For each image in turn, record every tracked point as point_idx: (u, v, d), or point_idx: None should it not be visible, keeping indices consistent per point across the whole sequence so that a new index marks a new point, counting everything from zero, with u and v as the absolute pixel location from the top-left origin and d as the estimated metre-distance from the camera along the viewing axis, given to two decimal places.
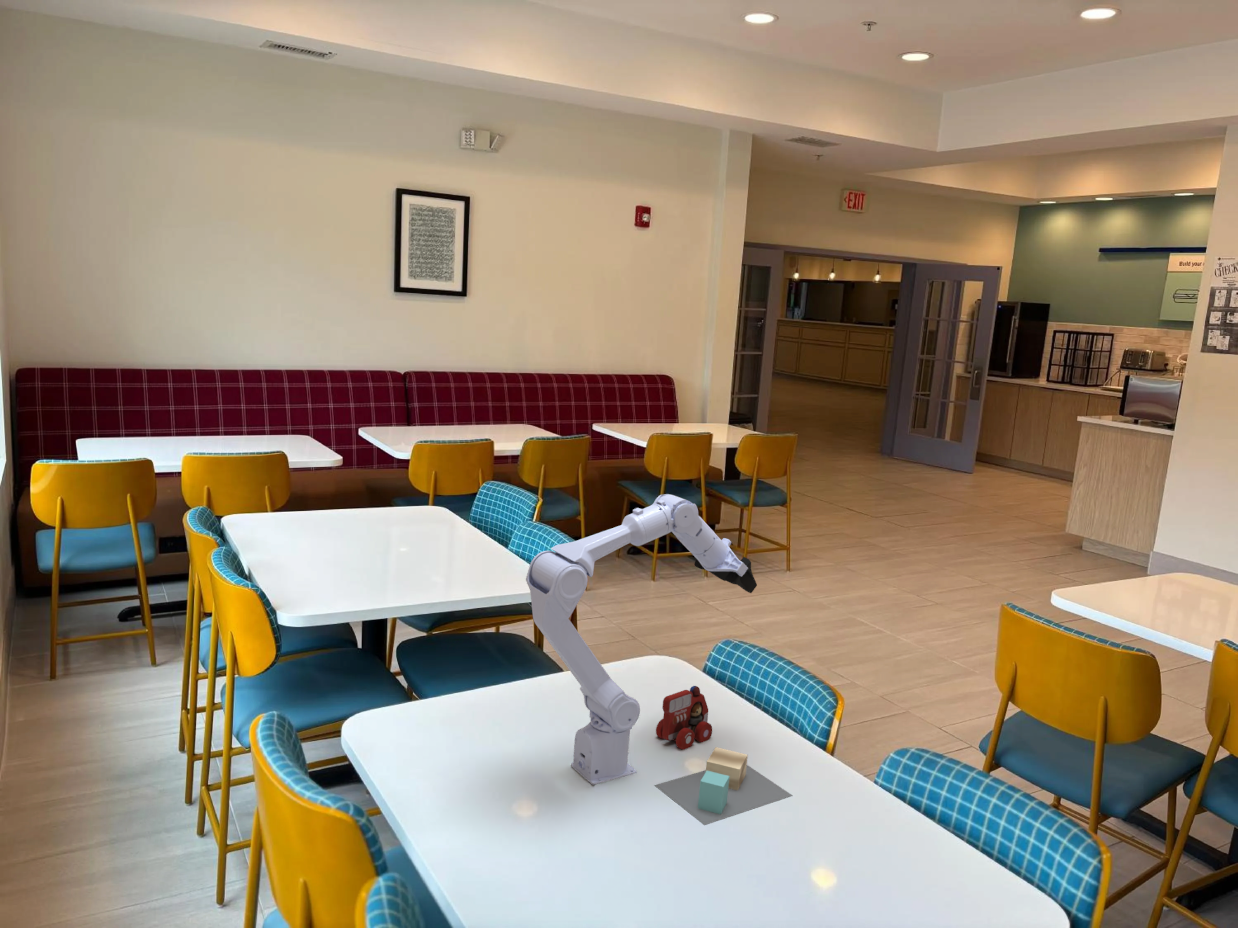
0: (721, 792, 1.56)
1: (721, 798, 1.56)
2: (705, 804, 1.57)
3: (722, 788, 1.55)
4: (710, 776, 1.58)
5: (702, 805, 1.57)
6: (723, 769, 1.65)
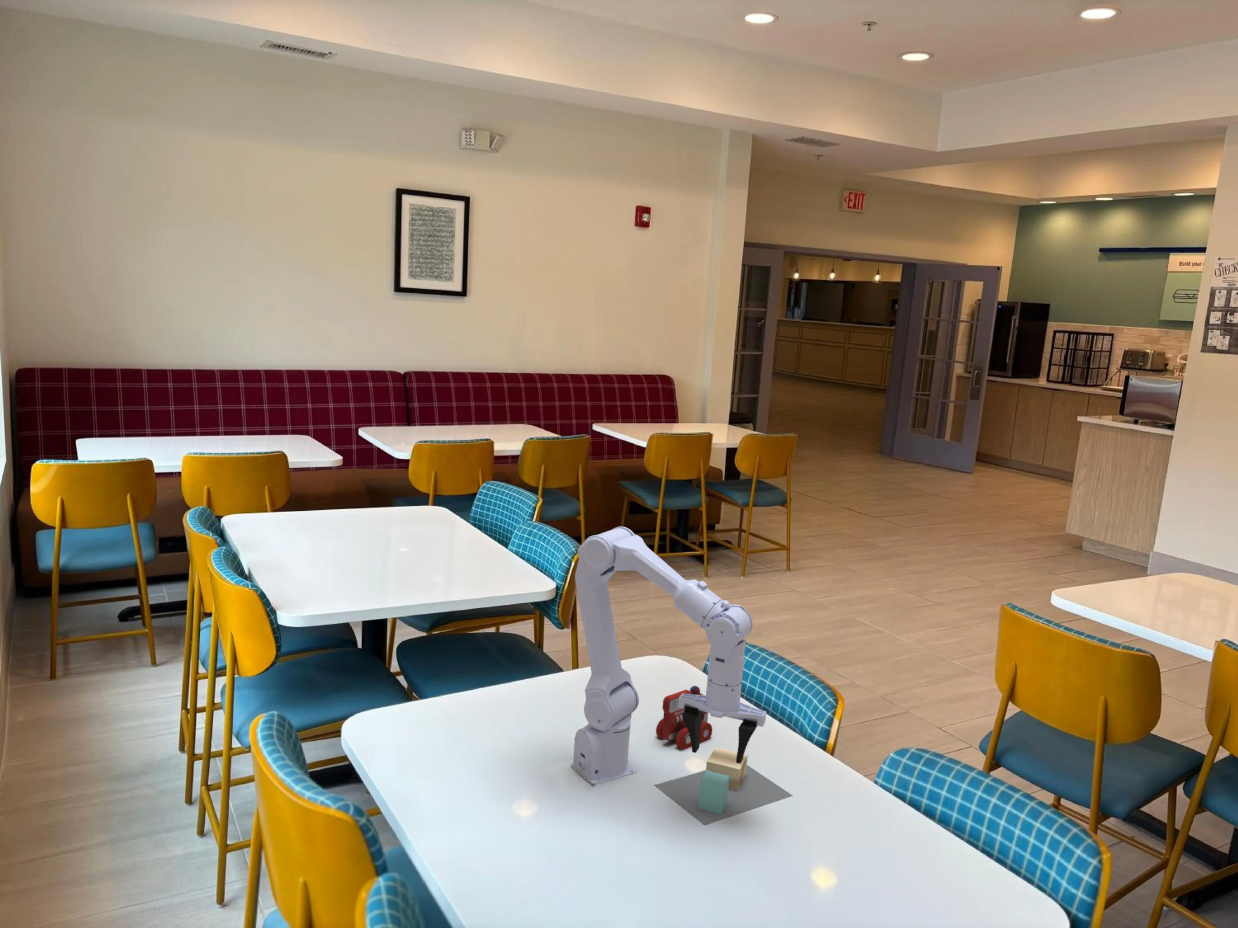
0: (721, 792, 1.56)
1: (721, 798, 1.56)
2: (705, 804, 1.57)
3: (722, 788, 1.55)
4: (710, 776, 1.58)
5: (702, 805, 1.57)
6: (723, 769, 1.65)
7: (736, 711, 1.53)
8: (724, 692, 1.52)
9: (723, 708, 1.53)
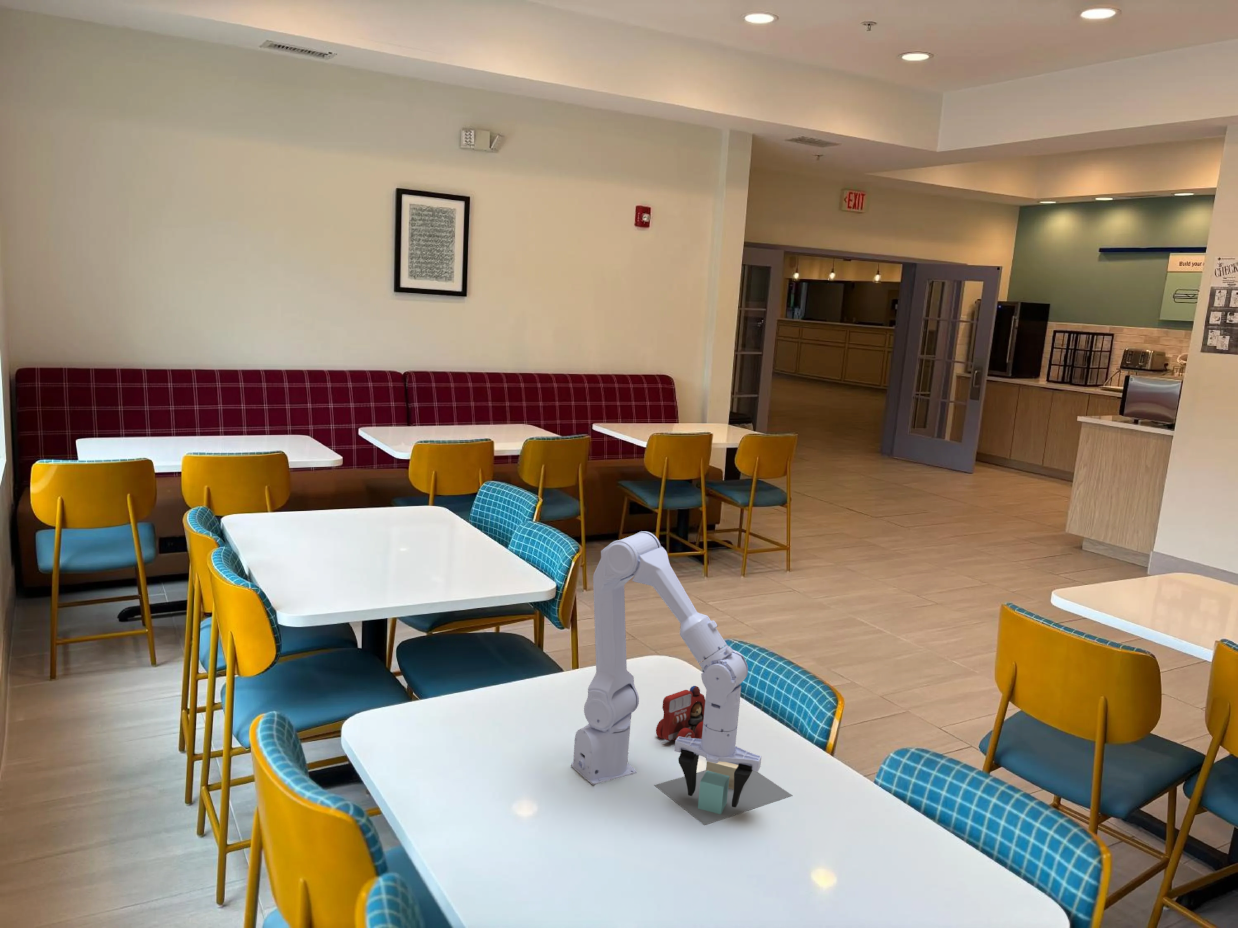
0: (721, 792, 1.56)
1: (721, 798, 1.56)
2: (705, 804, 1.57)
3: (722, 788, 1.55)
4: (710, 776, 1.58)
5: (702, 805, 1.57)
6: (723, 769, 1.65)
7: (731, 756, 1.55)
8: (720, 737, 1.54)
9: (719, 753, 1.54)
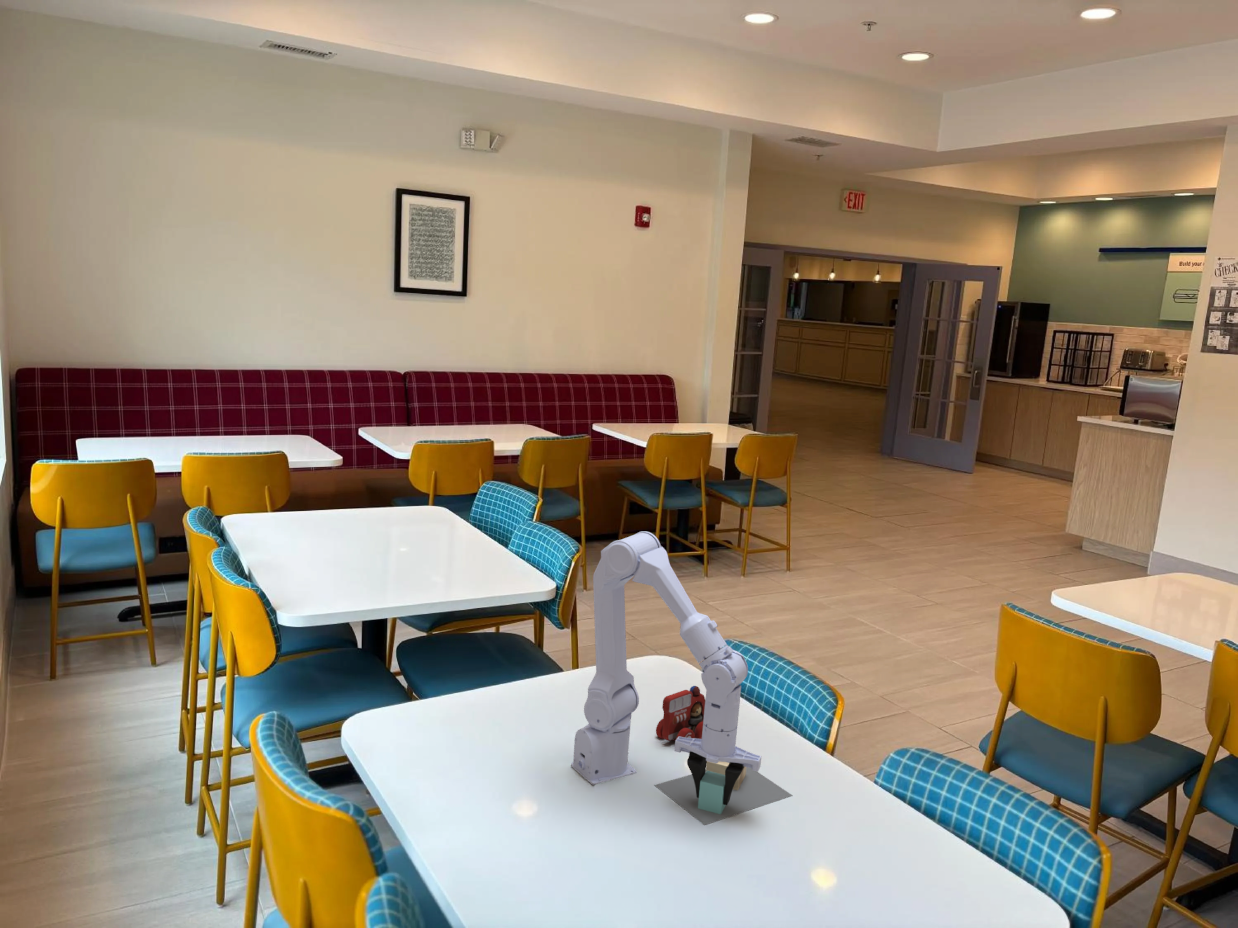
0: (721, 792, 1.56)
1: (721, 798, 1.56)
2: (705, 804, 1.57)
3: (722, 788, 1.55)
4: (710, 776, 1.58)
5: (702, 805, 1.57)
6: (723, 769, 1.65)
7: (731, 756, 1.55)
8: (720, 737, 1.54)
9: (719, 753, 1.54)
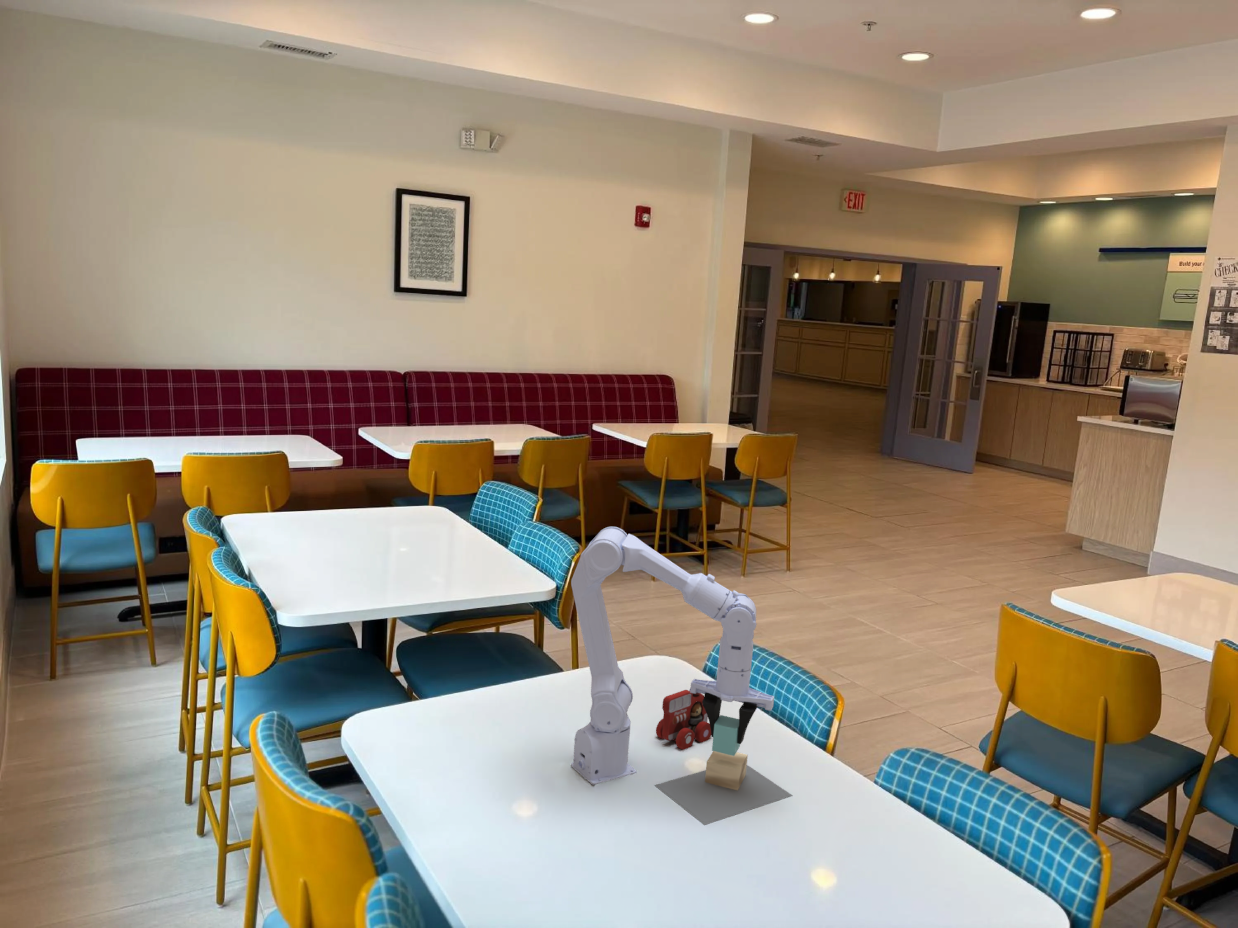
0: (734, 734, 1.61)
1: (734, 740, 1.61)
2: (719, 746, 1.63)
3: (735, 730, 1.61)
4: (723, 720, 1.64)
5: (716, 747, 1.63)
6: (723, 769, 1.65)
7: (745, 696, 1.61)
8: (734, 677, 1.59)
9: (733, 692, 1.60)
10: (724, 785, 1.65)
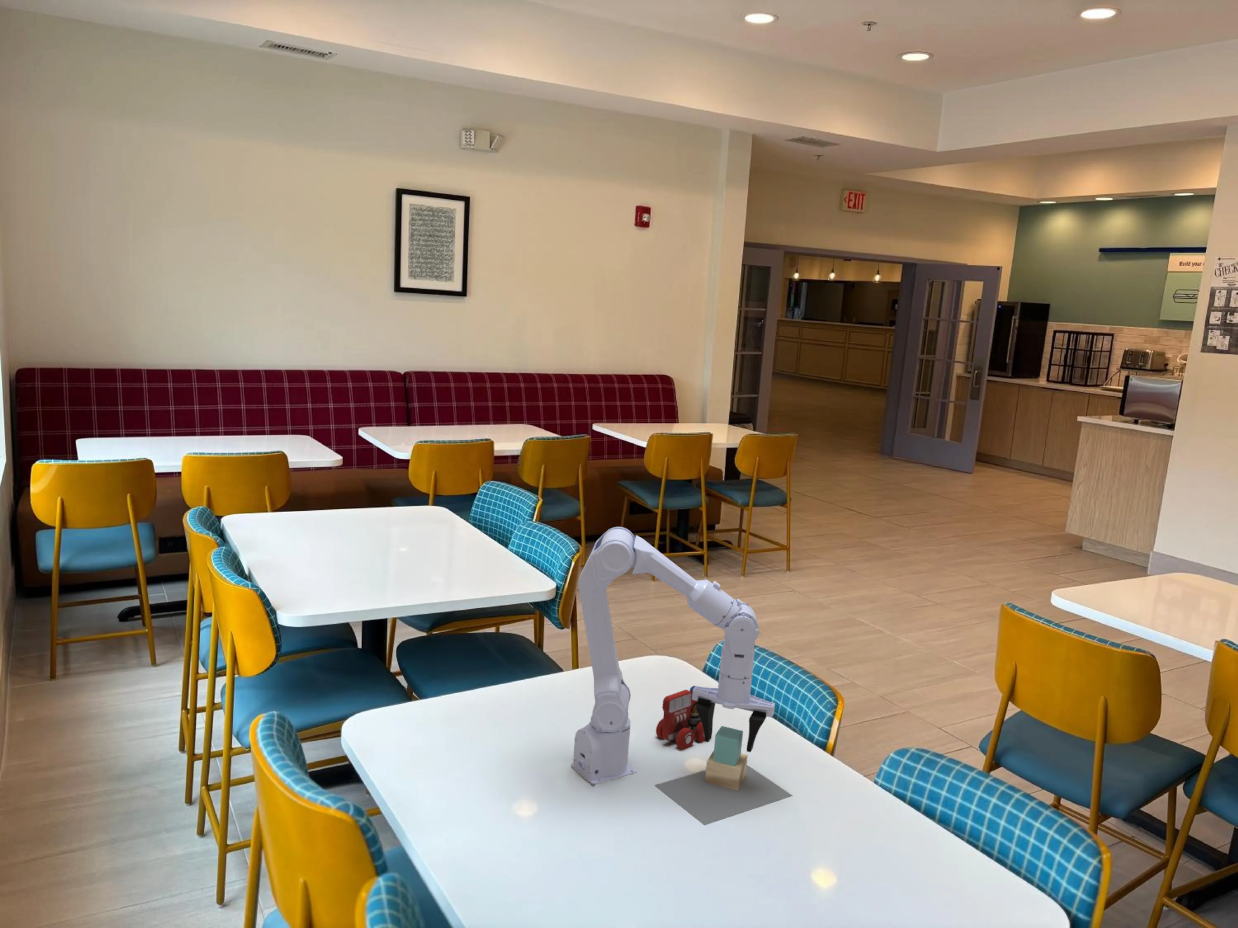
0: (735, 745, 1.64)
1: (735, 751, 1.64)
2: (720, 757, 1.65)
3: (736, 741, 1.64)
4: (724, 730, 1.67)
5: (717, 757, 1.66)
6: (723, 769, 1.65)
7: (747, 703, 1.63)
8: (736, 684, 1.62)
9: (735, 699, 1.62)
10: (724, 785, 1.65)
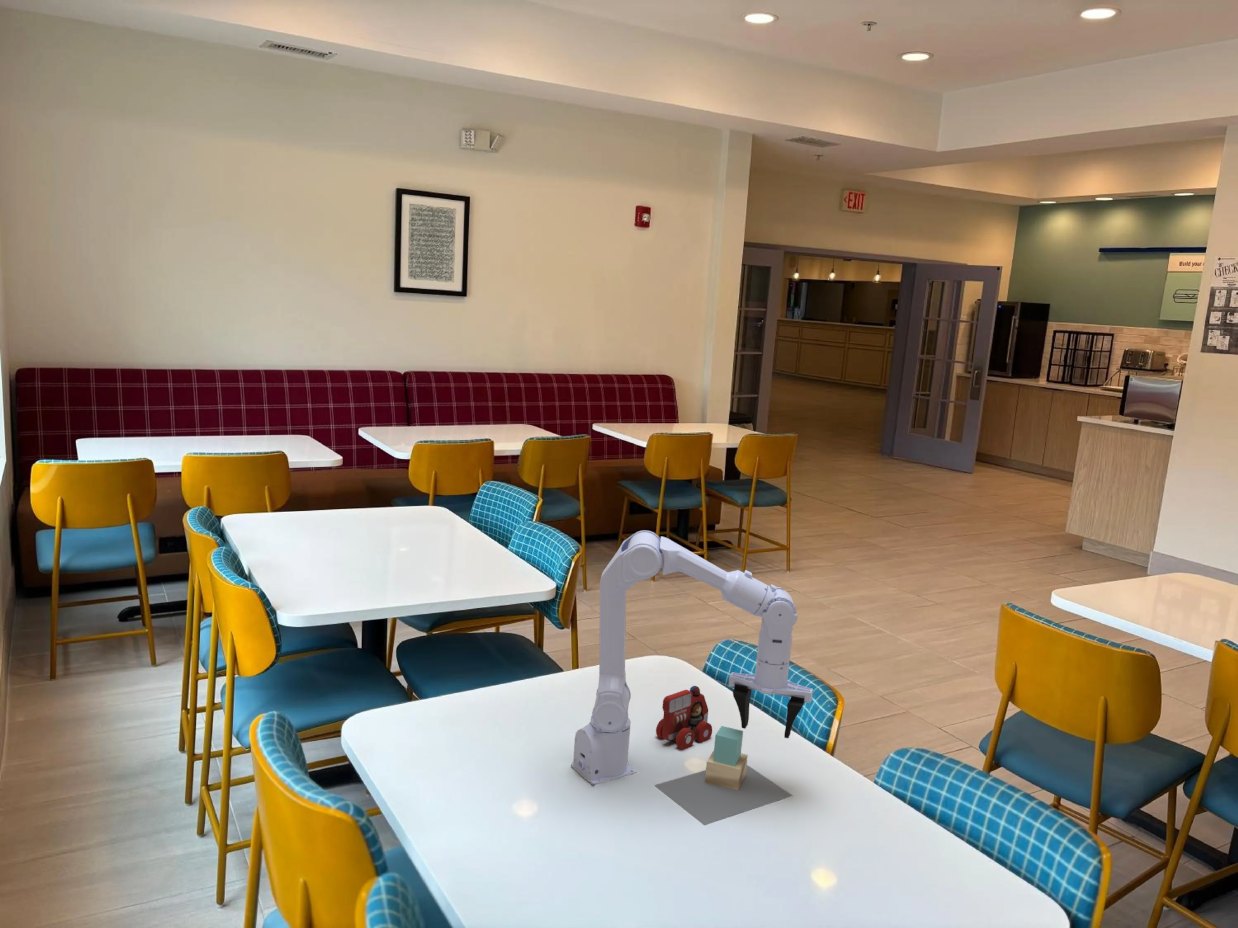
0: (735, 745, 1.64)
1: (735, 751, 1.64)
2: (720, 757, 1.65)
3: (736, 741, 1.64)
4: (724, 730, 1.67)
5: (717, 757, 1.66)
6: (723, 769, 1.65)
7: (784, 688, 1.62)
8: (774, 670, 1.61)
9: (773, 685, 1.61)
10: (724, 785, 1.65)
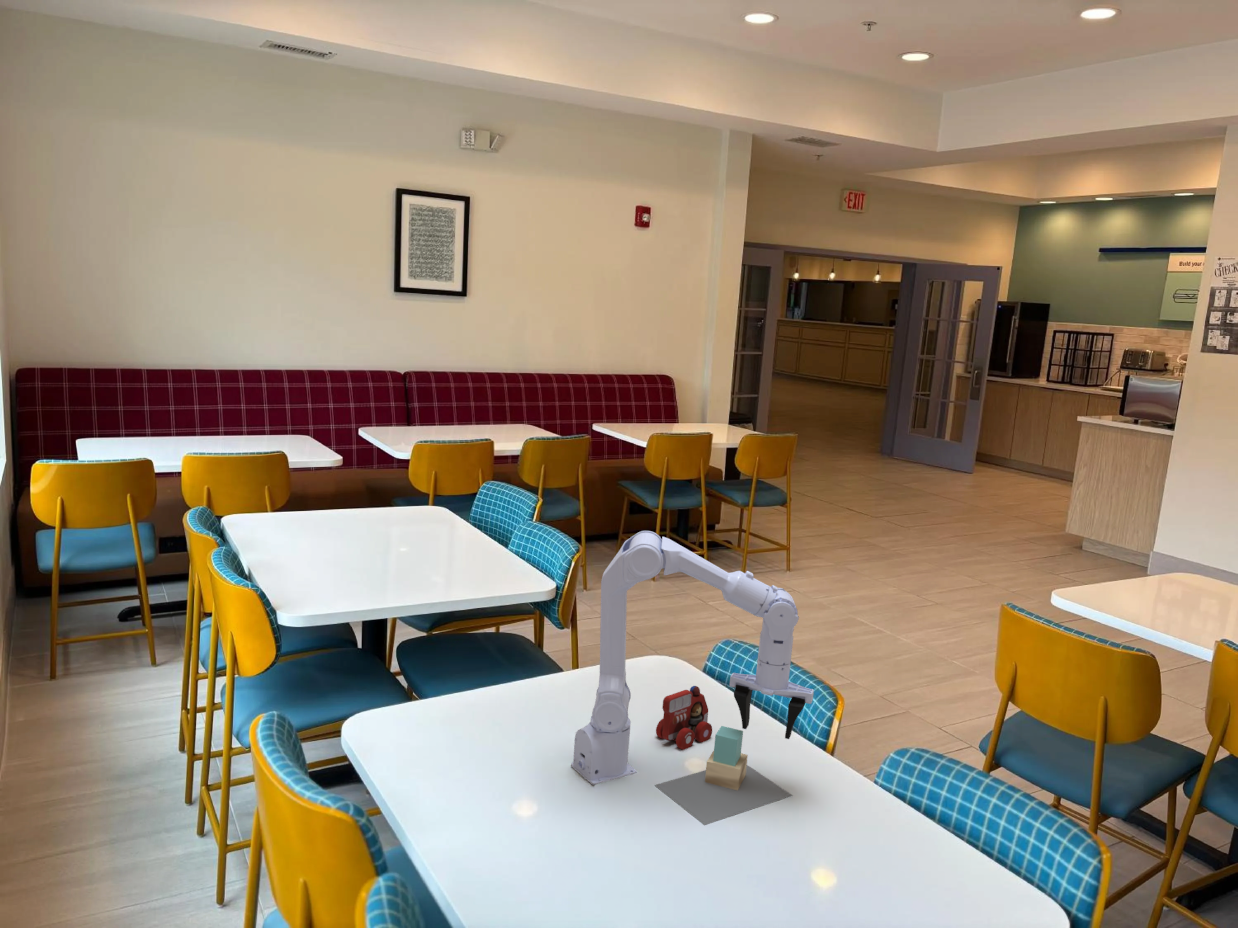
0: (735, 745, 1.64)
1: (735, 751, 1.64)
2: (720, 757, 1.65)
3: (736, 741, 1.64)
4: (724, 730, 1.67)
5: (717, 757, 1.66)
6: (723, 769, 1.65)
7: (785, 689, 1.62)
8: (775, 671, 1.61)
9: (774, 686, 1.61)
10: (724, 785, 1.65)
